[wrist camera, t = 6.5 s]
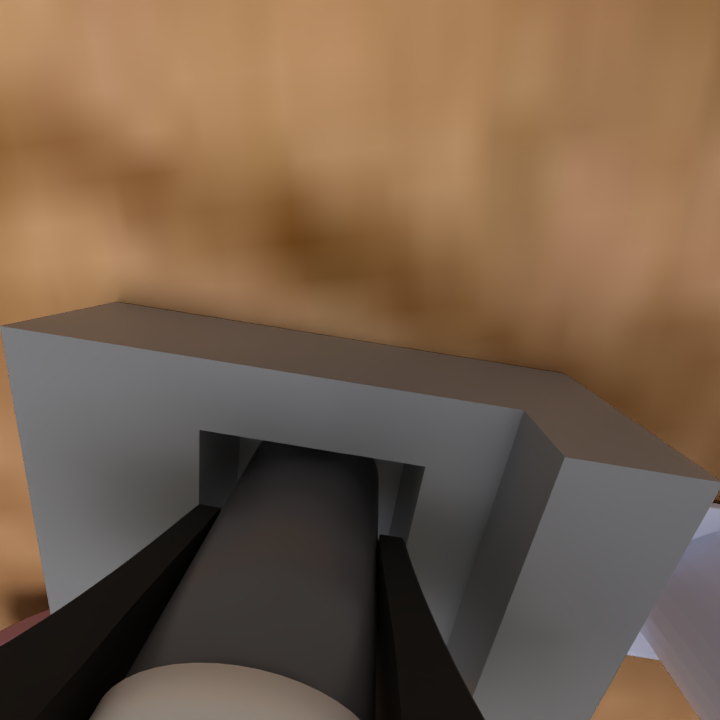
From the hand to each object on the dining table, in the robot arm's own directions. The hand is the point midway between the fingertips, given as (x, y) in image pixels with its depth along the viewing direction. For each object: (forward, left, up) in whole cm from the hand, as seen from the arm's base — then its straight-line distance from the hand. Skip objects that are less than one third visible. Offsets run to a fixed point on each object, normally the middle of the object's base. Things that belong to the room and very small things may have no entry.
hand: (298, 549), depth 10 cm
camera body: (0, 0, -4) cm, 4 cm away
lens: (0, 0, -2) cm, 3 cm away
